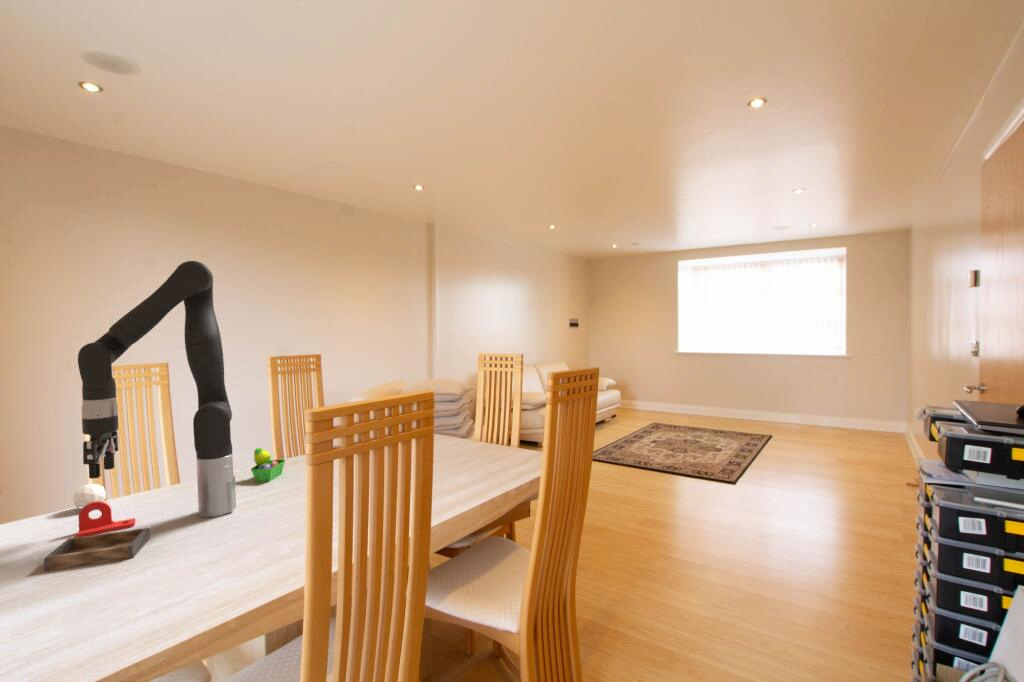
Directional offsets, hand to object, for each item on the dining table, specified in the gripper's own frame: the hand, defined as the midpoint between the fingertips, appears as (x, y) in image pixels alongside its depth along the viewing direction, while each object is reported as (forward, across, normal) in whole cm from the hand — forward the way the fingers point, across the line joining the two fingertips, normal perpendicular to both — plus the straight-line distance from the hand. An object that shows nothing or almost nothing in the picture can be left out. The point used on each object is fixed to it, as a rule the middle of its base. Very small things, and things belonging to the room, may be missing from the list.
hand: (102, 473), depth 132 cm
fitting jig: (+16, -16, -5) cm, 23 cm away
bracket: (+16, +1, 0) cm, 17 cm away
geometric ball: (+16, +22, +12) cm, 30 cm away
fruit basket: (+16, +34, -36) cm, 52 cm away
